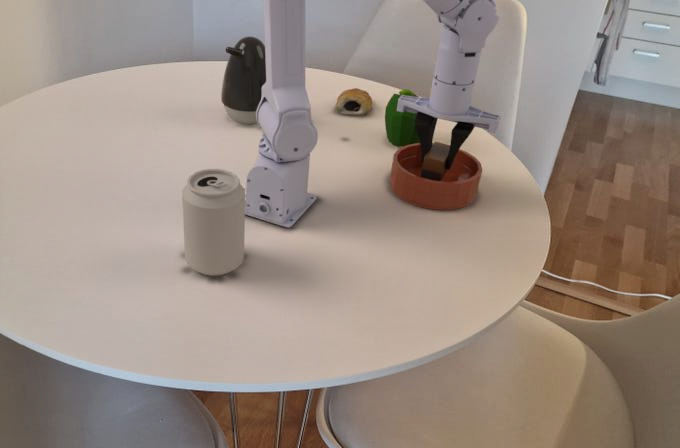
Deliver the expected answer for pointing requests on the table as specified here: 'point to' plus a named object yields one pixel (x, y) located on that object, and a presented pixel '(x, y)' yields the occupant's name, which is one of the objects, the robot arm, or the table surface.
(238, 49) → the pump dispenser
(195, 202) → the can
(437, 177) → the eraser
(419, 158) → the bowl
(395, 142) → the bell pepper
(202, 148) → the table surface
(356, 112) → the pastry
